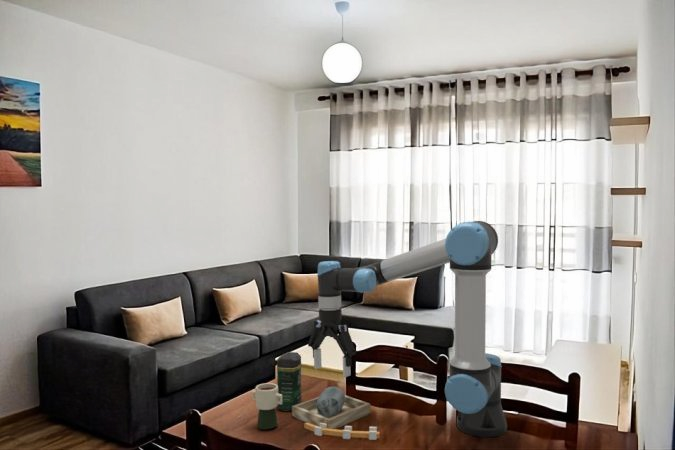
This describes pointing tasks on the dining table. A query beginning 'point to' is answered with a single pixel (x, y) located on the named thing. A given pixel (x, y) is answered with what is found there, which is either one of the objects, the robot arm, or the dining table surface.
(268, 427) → the character mug
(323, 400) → the grey patterned ovoid
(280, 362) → the coffee jar
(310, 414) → the wooden tray
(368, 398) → the dining table surface
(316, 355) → the robot arm
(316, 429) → the clips
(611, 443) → the dining table surface
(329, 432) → the cable
